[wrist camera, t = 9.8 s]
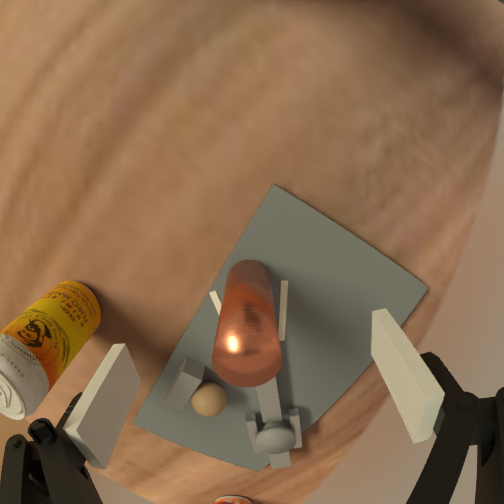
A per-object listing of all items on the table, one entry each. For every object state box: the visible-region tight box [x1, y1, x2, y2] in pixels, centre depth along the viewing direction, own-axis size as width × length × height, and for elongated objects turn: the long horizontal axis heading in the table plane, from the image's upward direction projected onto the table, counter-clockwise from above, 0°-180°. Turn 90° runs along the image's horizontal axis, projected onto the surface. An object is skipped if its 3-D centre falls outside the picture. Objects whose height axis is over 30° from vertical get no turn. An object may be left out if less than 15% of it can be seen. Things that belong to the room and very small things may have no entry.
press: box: [133, 184, 429, 472], centre depth 29 cm, size 32×18×5 cm, turn 149°
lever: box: [212, 260, 302, 468], centre depth 25 cm, size 27×6×12 cm, turn 9°
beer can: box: [0, 281, 101, 420], centre depth 22 cm, size 6×6×15 cm
